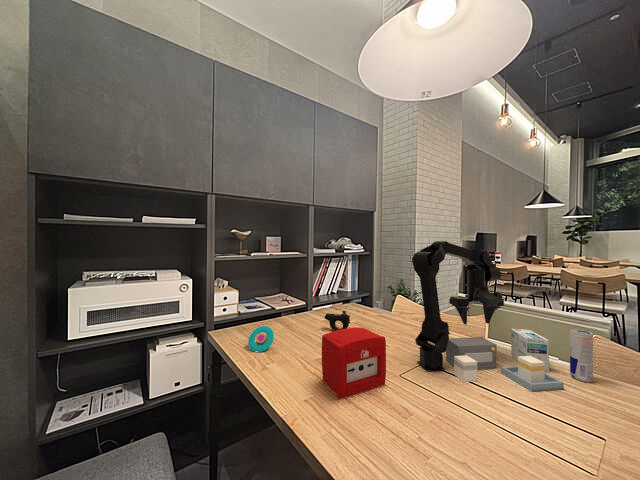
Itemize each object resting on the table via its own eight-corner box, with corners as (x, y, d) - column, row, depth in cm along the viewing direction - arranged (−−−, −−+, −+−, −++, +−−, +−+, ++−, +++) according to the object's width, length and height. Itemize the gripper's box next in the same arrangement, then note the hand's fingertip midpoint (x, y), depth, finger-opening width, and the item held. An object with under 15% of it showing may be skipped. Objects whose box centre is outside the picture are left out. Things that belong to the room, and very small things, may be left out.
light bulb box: (550, 372, 85) (550, 339, 85) (526, 370, 86) (526, 338, 86) (530, 358, 95) (530, 329, 95) (510, 356, 96) (510, 327, 97)
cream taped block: (531, 383, 77) (531, 363, 77) (517, 375, 81) (517, 356, 81) (544, 382, 77) (544, 362, 77) (530, 374, 82) (530, 355, 82)
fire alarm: (340, 400, 69) (340, 344, 69) (321, 381, 78) (321, 332, 78) (386, 385, 76) (386, 335, 76) (364, 369, 86) (364, 324, 86)
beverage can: (586, 376, 82) (586, 329, 82) (597, 384, 77) (597, 334, 77) (566, 373, 84) (566, 327, 84) (576, 381, 79) (575, 332, 79)
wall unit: (459, 371, 85) (459, 346, 85) (445, 360, 93) (445, 338, 93) (497, 368, 87) (497, 344, 87) (480, 358, 95) (480, 336, 95)
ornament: (280, 336, 106) (261, 326, 110) (278, 331, 103) (258, 321, 106) (265, 360, 100) (245, 349, 103) (263, 356, 97) (242, 345, 100)
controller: (348, 334, 118) (348, 312, 118) (323, 331, 122) (323, 310, 123) (350, 331, 122) (351, 310, 122) (326, 328, 126) (326, 308, 127)
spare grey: (463, 382, 78) (463, 362, 78) (453, 374, 83) (453, 355, 83) (477, 381, 79) (477, 361, 79) (466, 373, 83) (466, 355, 84)
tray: (531, 391, 73) (531, 384, 73) (500, 373, 84) (500, 366, 84) (563, 389, 75) (563, 382, 75) (529, 371, 85) (529, 365, 85)
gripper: (468, 286, 88) (468, 332, 88) (517, 285, 90) (517, 330, 90) (448, 281, 99) (448, 322, 99) (492, 281, 101) (492, 320, 101)
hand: (476, 323), depth 97 cm, fingers open, 9 cm apart
